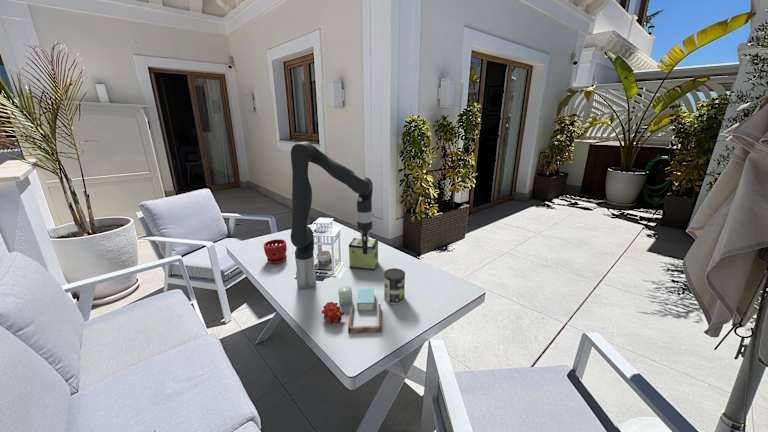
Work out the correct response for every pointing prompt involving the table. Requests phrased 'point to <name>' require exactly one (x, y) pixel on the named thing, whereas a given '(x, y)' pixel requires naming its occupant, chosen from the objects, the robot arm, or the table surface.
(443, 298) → the table surface
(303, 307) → the table surface
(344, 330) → the table surface
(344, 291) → the pale green dome
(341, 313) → the dragon fruit
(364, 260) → the protein box
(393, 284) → the coffee can
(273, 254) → the plant pot
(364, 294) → the teal carton
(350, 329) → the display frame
